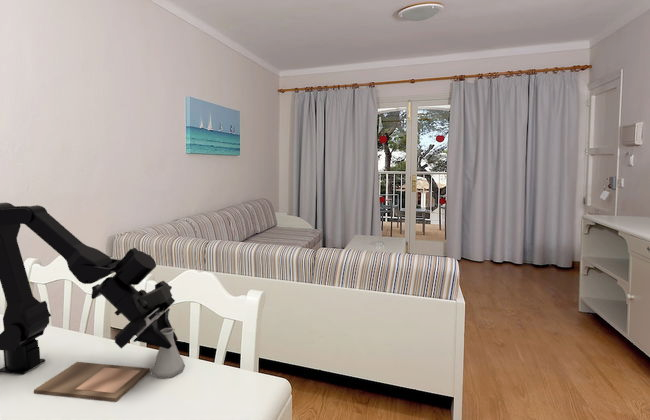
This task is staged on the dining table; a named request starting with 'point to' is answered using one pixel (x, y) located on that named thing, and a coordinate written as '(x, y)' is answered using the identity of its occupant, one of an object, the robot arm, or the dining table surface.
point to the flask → (168, 358)
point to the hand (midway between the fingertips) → (173, 344)
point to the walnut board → (93, 381)
